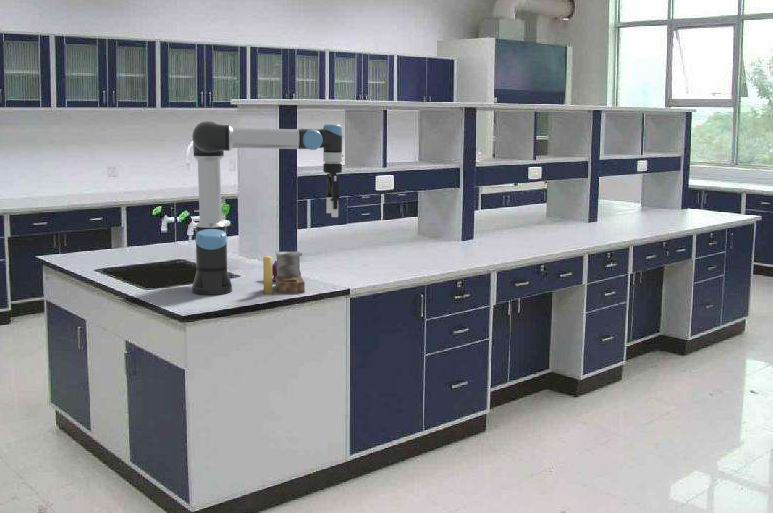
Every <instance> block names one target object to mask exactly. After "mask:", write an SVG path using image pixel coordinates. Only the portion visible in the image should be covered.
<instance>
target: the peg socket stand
mask: <svg viewBox="0 0 773 513" xmlns="http://www.w3.org/2000/svg"><path fill="white" fill-rule="evenodd" d="M274 253H275V256H276V261H277V276H276V280H275V287H276V290H277V292H278V294H294V293H295V294H296V293H299V294H300V293H305V285H306V284H305V280H304V279H303V277H302V274H301V275H300V272H301V270H300V269H301V268H300V263H301V262H300V257H302V256H303V253H302V251H275V252H274Z"/></svg>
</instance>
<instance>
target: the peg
mask: <svg viewBox="0 0 773 513" xmlns="http://www.w3.org/2000/svg"><path fill="white" fill-rule="evenodd" d="M262 258H263V260H262V261H263V262H262V264H263V267H262V268H263V270H262V271H263V275H262V276H263V294H264V293H265V294H266V295H271V294H273V276H272V275H273V274H272V265H273V256H263V257H262Z"/></svg>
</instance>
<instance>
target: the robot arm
mask: <svg viewBox="0 0 773 513" xmlns="http://www.w3.org/2000/svg"><path fill="white" fill-rule="evenodd" d="M192 143H193V144H192V145H193V151H192V152H193V157H194V158H195V159H196V160H197V177H198V183H197V184H198V205H199V206H198V208H199V222H198V223H196V225H195V233H196V234H195V253H196V254H195V256H196V257H195V258H196V259H195V260H196V262H195V264H196V265H195V267H196V272H195V276H194V280H193V282H192V285H191V286H192V288H191V289H192V290H191V291H192V293H193V294H196V295H202V296H203V295H204V296H205V295H206V296H214V295H215V296H216V295H217V296H218V295H224V294H229V293H231V292H232V291H233V284H232V281H231V279H230V276H229V273H228V272H229V271H228V237H227V226H226V223H224V221H223V219H222V218H223V217H222V187H221V180H222V179H221V160H222V159H223V158H224V157H225V155H224V153H225V152H224V151H228V152H230V151H231V150H232V149H273V150H275V149H279V150H283V149H285V150H286V149H287V150H310V151H314V150H315V151H316V150H317V149H323V153H322V154H323V158H322V159H323V160H322V162H324V163H323V166H322V168H323V169H322V170H323V173H325V174H326V173H327V174H326V188H325V196H326V214H331V215H330V216H331V218H339V201H340V199H341V198H340V187H339V175H337V174H340V173H342V172H343V164H342V161H343V157H344V154H343V128H342V125H340V124H333V123H332V124H323V128H320V129H318V128H317V129H316V128H295V129H294V128H293V129H292V128H290V129H288V128H254V127H253V128H252V127H251V128H250V127H249V128H247V127H246V128H245V127H244V128H243V127H232V126H231V125H229V124H217V123H216V122H213V121H210V120H205V121H202V122H200V123H198V124H197V125H196V126H194V129H193V130H192Z"/></svg>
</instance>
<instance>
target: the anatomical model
mask: <svg viewBox="0 0 773 513" xmlns="http://www.w3.org/2000/svg"><path fill="white" fill-rule="evenodd" d="M300 275H301V276H302V272H301V271H300ZM276 276H277V260H275V261H274V263H272V280H273V281H275V282H276Z"/></svg>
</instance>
